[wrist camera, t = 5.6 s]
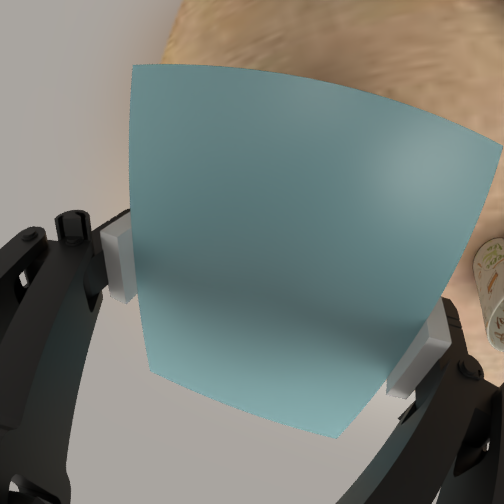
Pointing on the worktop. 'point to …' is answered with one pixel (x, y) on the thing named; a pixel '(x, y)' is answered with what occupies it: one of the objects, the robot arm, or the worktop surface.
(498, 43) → the worktop surface
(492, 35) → the worktop surface
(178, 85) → the lid
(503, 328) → the mug
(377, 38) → the worktop surface
